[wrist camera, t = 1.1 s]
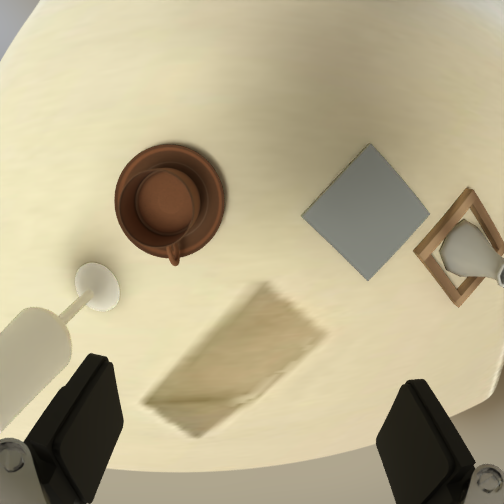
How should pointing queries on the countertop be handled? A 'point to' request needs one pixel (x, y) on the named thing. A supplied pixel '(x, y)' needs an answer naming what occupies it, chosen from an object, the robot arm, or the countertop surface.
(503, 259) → the flask
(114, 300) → the champagne flute
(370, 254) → the slate tile
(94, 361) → the robot arm
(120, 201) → the cup and saucer
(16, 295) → the countertop surface
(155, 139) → the countertop surface
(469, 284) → the square wooden frame
